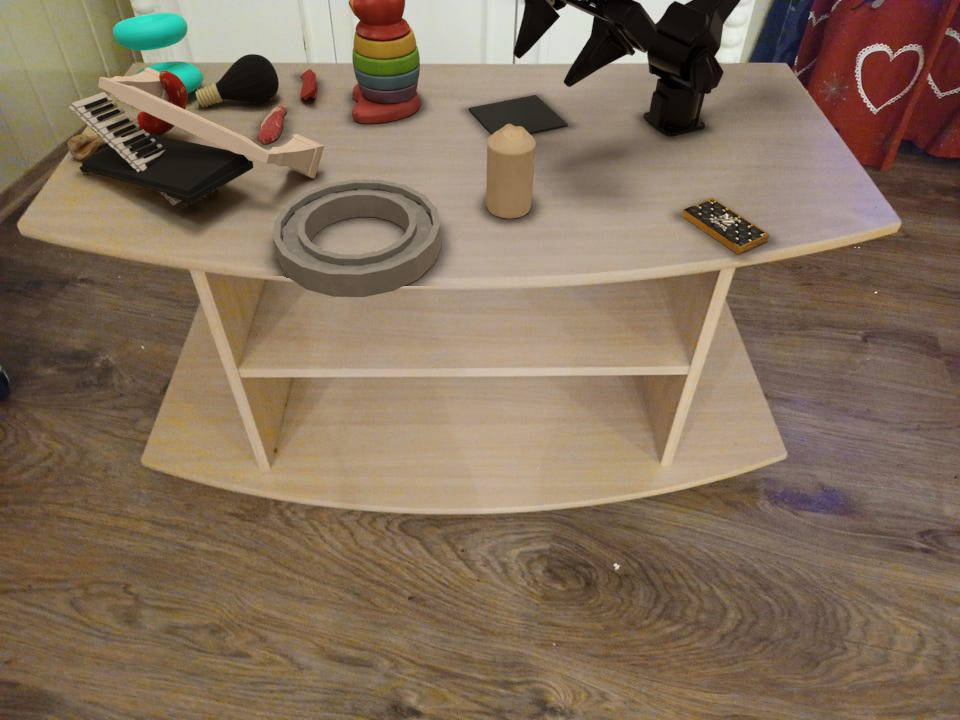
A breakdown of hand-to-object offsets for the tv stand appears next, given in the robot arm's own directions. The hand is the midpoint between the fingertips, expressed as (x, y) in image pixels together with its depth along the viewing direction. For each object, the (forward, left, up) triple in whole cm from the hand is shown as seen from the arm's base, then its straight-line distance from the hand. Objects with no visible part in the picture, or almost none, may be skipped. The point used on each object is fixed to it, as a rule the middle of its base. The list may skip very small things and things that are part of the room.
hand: (540, 70), depth 84 cm
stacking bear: (+11, -26, -14) cm, 31 cm away
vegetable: (+45, -30, -13) cm, 55 cm away
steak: (+26, -25, -13) cm, 38 cm away
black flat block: (-13, +20, -13) cm, 27 cm away
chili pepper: (+21, -34, -12) cm, 42 cm away
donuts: (+34, -43, -8) cm, 56 cm away
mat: (-5, -15, -14) cm, 21 cm away
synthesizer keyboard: (+43, -15, -6) cm, 46 cm away
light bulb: (+30, -35, -14) cm, 48 cm away
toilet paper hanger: (+38, -16, -9) cm, 42 cm away
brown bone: (+48, -33, -12) cm, 59 cm away
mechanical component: (+25, +6, -14) cm, 29 cm away
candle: (+6, +5, -14) cm, 16 cm away
